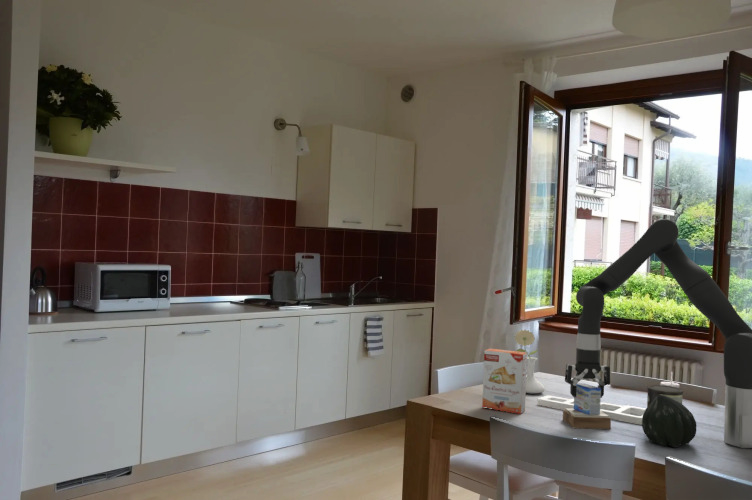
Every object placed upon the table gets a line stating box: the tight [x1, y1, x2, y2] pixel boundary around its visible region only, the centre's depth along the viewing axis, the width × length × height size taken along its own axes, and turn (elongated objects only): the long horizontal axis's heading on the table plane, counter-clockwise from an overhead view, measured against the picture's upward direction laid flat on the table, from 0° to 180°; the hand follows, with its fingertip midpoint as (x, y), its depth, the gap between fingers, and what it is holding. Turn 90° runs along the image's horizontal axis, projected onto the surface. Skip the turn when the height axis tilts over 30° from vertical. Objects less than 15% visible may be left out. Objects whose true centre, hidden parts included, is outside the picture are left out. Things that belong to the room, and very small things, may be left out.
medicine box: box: [573, 382, 602, 415], centre depth 205 cm, size 8×4×9 cm, turn 22°
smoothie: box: [659, 371, 680, 388], centre depth 230 cm, size 6×6×14 cm
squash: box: [641, 394, 697, 448], centre depth 186 cm, size 14×15×15 cm
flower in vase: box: [514, 329, 546, 394], centre depth 253 cm, size 13×11×25 cm
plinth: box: [562, 408, 612, 430], centre depth 205 cm, size 10×12×4 cm
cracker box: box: [481, 347, 528, 415], centre depth 221 cm, size 14×6×21 cm, turn 62°
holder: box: [536, 395, 647, 426], centre depth 223 cm, size 45×18×3 cm, turn 50°
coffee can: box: [646, 384, 684, 408], centre depth 198 cm, size 10×10×14 cm
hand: (586, 397), depth 205 cm, fingers open, 8 cm apart
